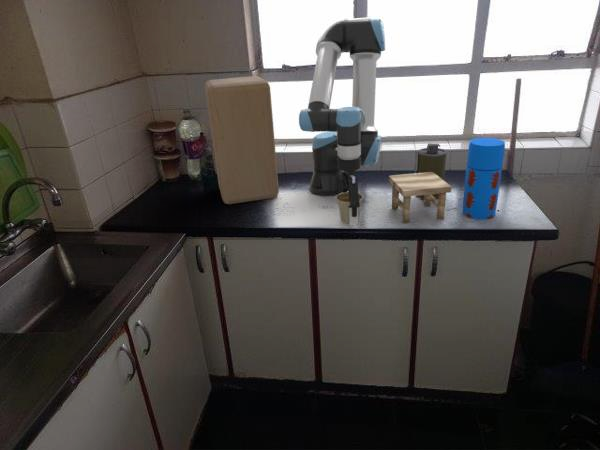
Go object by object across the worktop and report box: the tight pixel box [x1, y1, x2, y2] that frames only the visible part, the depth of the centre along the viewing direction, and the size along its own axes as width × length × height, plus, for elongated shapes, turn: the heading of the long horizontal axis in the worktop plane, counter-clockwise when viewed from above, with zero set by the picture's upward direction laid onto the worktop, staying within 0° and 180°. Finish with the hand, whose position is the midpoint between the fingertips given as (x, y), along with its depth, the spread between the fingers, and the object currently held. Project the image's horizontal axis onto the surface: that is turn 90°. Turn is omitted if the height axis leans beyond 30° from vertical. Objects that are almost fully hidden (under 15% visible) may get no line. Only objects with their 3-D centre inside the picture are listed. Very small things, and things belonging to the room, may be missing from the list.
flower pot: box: [335, 191, 364, 224], centre depth 150 cm, size 9×9×9 cm
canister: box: [414, 142, 448, 201], centre depth 164 cm, size 11×10×20 cm
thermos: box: [461, 137, 506, 221], centre depth 146 cm, size 11×11×25 cm
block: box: [204, 75, 280, 205], centre depth 173 cm, size 22×22×45 cm
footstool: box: [388, 172, 452, 224], centre depth 151 cm, size 16×16×12 cm
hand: (349, 216), depth 152 cm, fingers open, 12 cm apart
